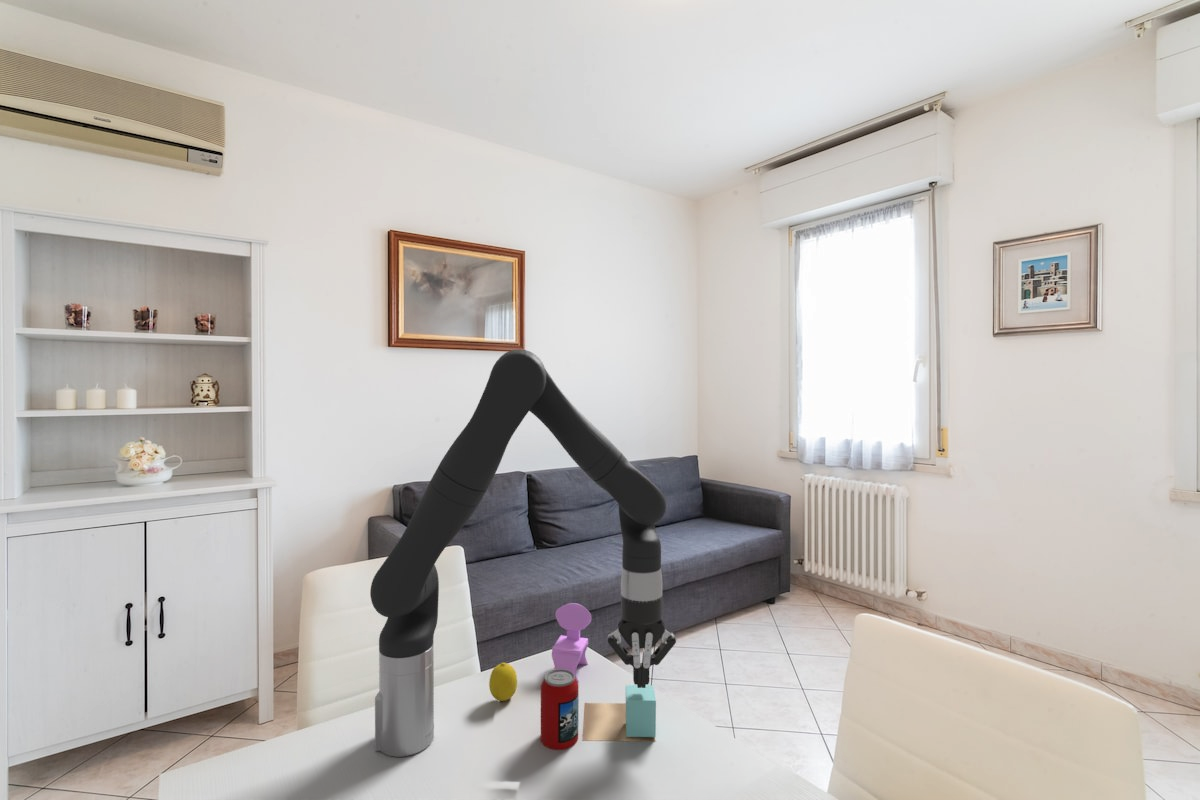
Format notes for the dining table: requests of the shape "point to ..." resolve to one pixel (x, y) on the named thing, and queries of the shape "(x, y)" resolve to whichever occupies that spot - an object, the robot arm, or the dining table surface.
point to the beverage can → (559, 710)
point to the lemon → (503, 682)
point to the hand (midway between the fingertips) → (641, 685)
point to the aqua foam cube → (640, 711)
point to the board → (607, 723)
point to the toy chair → (571, 637)
